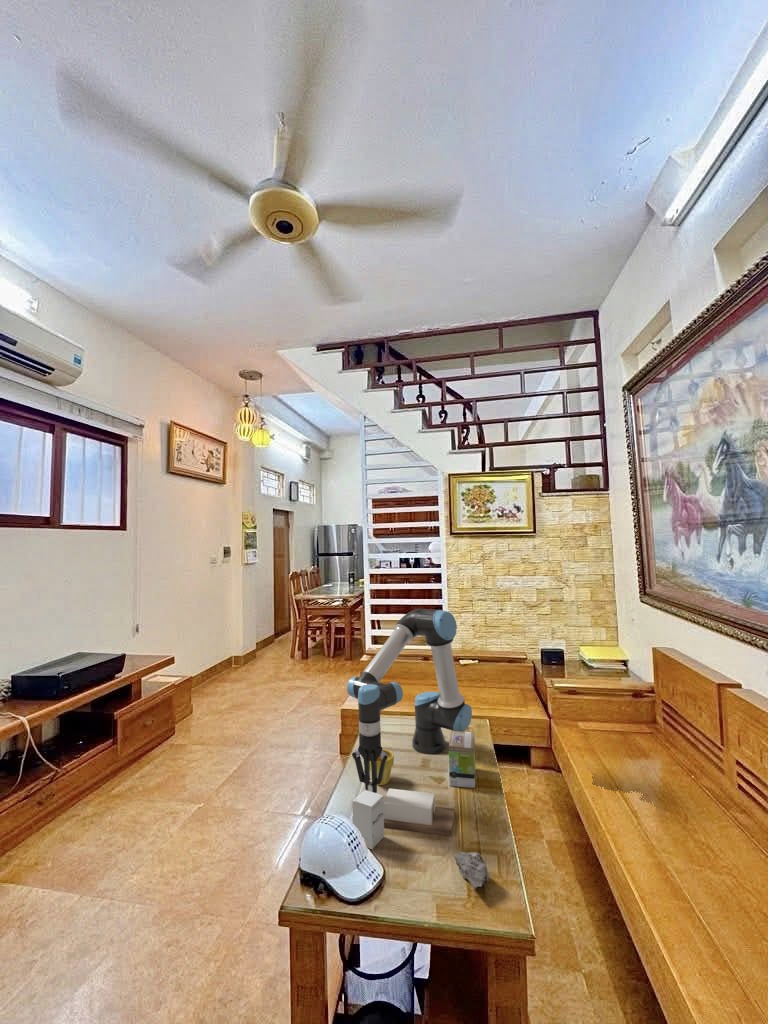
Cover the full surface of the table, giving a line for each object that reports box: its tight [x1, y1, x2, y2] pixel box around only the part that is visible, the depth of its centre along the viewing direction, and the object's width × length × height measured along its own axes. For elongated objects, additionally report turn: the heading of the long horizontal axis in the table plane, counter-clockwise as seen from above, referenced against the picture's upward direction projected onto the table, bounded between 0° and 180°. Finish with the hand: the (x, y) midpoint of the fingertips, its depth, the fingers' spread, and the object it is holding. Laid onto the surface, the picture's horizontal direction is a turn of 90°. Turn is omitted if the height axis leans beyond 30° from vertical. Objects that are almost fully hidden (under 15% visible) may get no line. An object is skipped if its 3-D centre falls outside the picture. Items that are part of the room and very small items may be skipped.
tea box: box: [448, 730, 476, 789], centre depth 172 cm, size 15×10×15 cm, turn 168°
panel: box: [383, 788, 436, 825], centre depth 147 cm, size 9×16×5 cm, turn 76°
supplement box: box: [351, 790, 385, 850], centre depth 137 cm, size 7×7×13 cm
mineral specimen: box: [453, 851, 491, 890], centre depth 119 cm, size 10×8×10 cm
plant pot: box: [370, 748, 395, 786], centre depth 171 cm, size 10×10×10 cm
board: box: [384, 805, 456, 837], centre depth 146 cm, size 12×24×4 cm, turn 76°
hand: (371, 803), depth 150 cm, fingers closed
